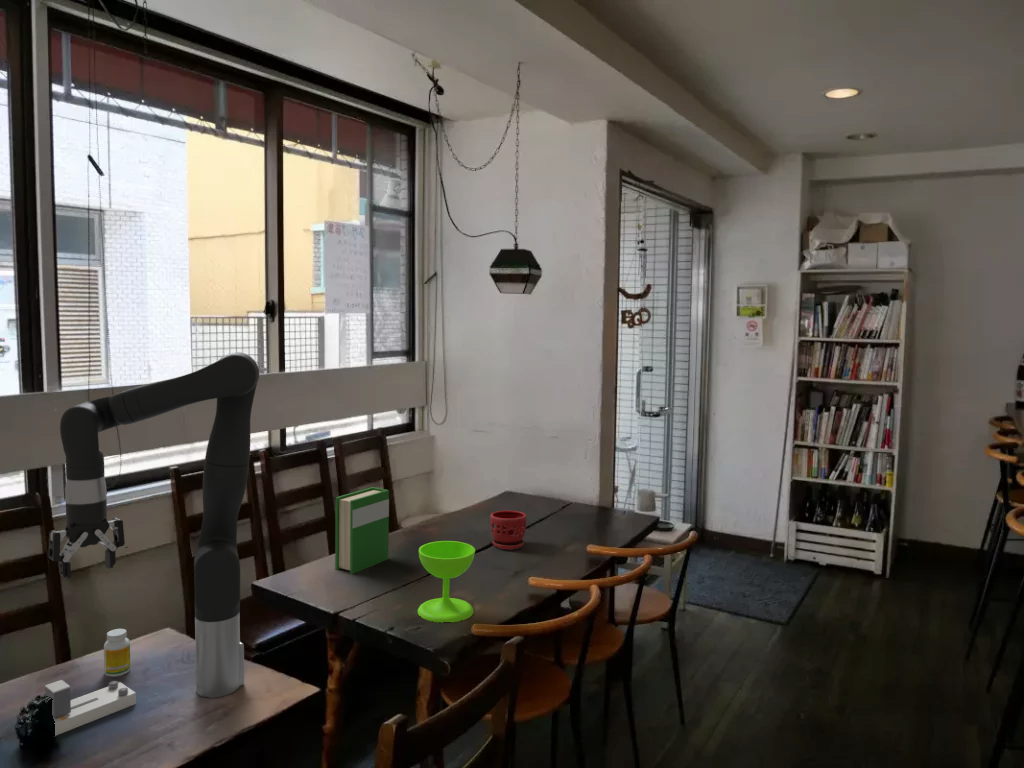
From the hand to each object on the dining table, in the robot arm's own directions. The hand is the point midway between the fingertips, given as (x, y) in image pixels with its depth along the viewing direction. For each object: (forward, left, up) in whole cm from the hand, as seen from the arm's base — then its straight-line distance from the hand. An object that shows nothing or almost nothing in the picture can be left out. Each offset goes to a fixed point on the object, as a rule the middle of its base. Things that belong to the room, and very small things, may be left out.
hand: (88, 572), depth 159 cm
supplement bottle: (-9, -8, -28) cm, 31 cm away
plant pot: (-143, +2, -28) cm, 146 cm away
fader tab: (+9, +6, -25) cm, 27 cm away
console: (+3, +6, -28) cm, 29 cm away
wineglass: (-85, +25, -28) cm, 93 cm away
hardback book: (-95, -22, -28) cm, 102 cm away
